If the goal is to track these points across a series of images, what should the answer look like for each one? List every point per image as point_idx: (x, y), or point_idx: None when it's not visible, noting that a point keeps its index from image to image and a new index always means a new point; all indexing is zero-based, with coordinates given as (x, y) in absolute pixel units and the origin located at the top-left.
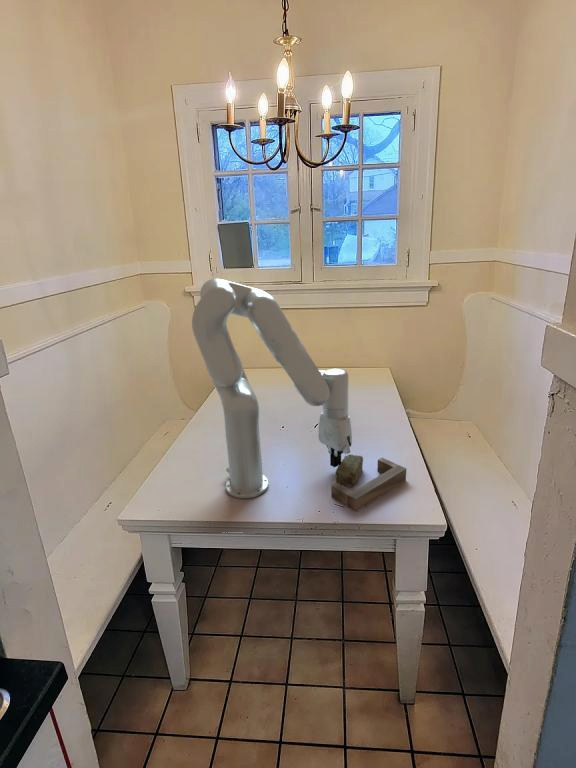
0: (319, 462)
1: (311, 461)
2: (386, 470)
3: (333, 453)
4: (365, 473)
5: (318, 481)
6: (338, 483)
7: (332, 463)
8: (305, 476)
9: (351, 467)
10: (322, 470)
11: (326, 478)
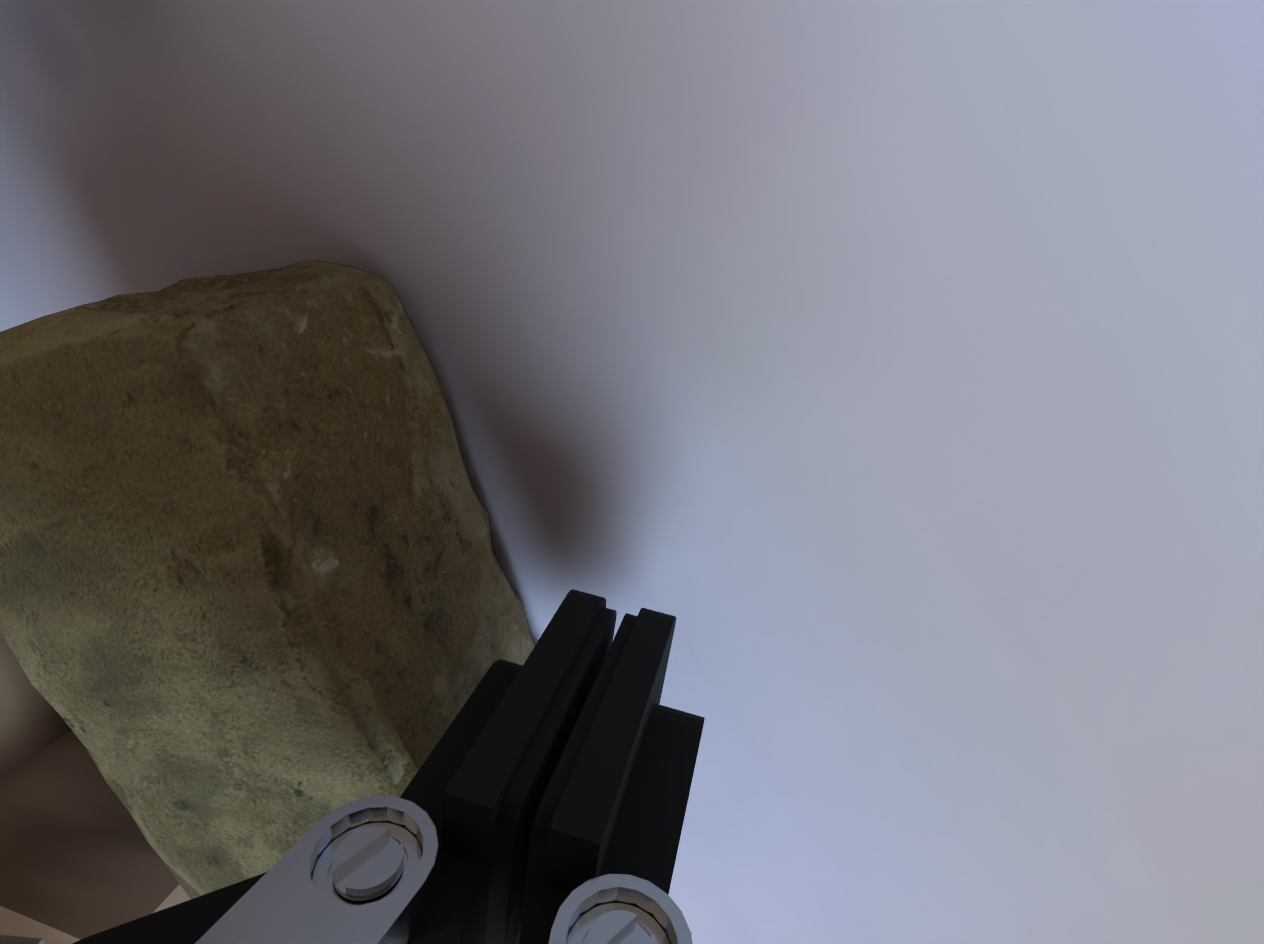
0: (1062, 715)
1: (1256, 688)
2: (85, 812)
3: (530, 909)
4: None
5: (698, 124)
6: (320, 261)
7: (611, 650)
8: (1093, 94)
9: (40, 594)
10: (856, 514)
11: (633, 322)
